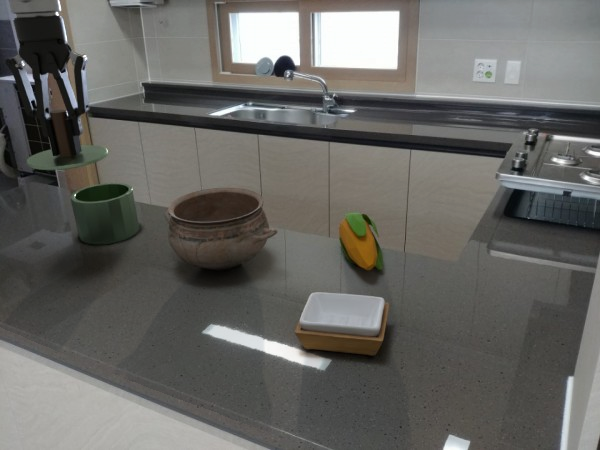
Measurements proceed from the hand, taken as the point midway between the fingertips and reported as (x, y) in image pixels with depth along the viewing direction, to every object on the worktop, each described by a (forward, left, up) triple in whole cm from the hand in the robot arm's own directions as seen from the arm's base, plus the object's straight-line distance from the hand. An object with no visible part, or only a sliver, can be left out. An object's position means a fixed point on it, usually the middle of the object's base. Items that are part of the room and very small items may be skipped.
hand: (67, 153), depth 98 cm
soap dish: (+56, -3, -22) cm, 60 cm away
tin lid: (0, 0, -1) cm, 1 cm away
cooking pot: (+25, +10, -22) cm, 35 cm away
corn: (+49, +22, -22) cm, 58 cm away
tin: (-7, +12, -22) cm, 26 cm away
